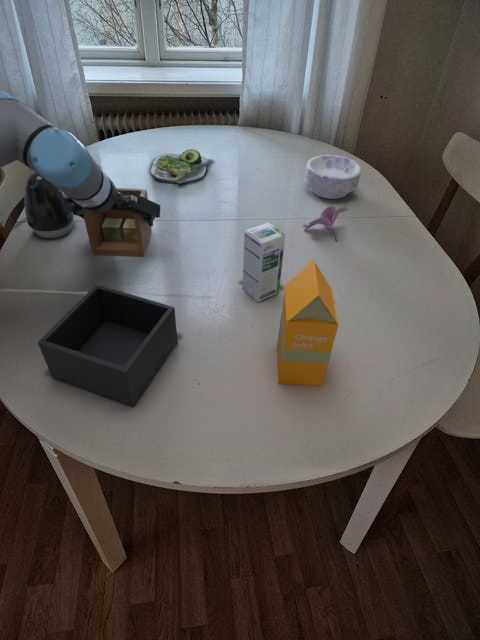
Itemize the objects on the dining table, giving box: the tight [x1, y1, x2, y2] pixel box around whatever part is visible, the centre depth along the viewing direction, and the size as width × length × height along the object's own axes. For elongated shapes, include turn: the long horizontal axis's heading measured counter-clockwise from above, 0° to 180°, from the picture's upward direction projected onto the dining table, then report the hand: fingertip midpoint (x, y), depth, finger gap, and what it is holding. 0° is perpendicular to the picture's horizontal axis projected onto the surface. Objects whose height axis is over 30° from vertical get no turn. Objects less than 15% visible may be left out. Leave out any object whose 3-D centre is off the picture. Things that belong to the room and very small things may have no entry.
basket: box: [37, 283, 179, 408], centre depth 73 cm, size 16×16×9 cm
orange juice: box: [276, 258, 340, 387], centre depth 69 cm, size 8×9×20 cm
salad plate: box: [150, 149, 213, 185], centre depth 129 cm, size 19×18×5 cm
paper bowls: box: [304, 154, 362, 200], centre depth 122 cm, size 15×15×8 cm
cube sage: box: [102, 218, 124, 242], centre depth 101 cm, size 4×4×4 cm
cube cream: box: [123, 219, 138, 243], centre depth 101 cm, size 4×4×4 cm
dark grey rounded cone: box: [23, 171, 75, 239], centre depth 99 cm, size 10×10×15 cm
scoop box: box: [83, 187, 153, 258], centre depth 97 cm, size 12×11×12 cm
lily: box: [304, 203, 351, 243], centre depth 106 cm, size 12×12×10 cm
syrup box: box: [241, 221, 286, 303], centre depth 86 cm, size 6×6×14 cm
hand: (121, 219), depth 98 cm, fingers open, 13 cm apart
